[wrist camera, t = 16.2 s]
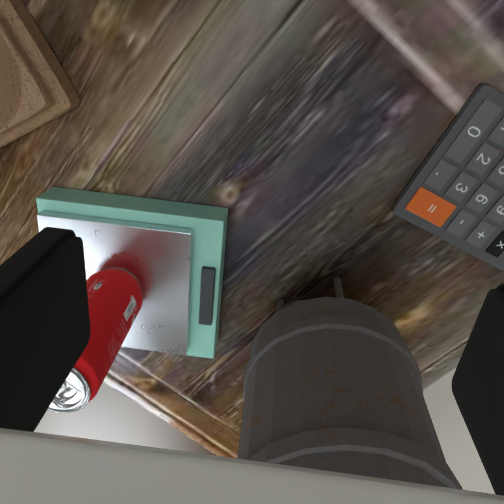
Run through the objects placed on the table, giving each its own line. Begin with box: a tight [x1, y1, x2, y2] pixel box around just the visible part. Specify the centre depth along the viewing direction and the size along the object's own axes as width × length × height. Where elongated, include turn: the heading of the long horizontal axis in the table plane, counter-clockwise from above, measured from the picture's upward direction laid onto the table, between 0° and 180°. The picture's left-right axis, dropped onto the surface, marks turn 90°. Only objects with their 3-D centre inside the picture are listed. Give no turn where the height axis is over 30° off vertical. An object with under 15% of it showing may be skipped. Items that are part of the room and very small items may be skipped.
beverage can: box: [47, 268, 142, 413], centre depth 35 cm, size 5×5×12 cm
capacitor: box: [238, 277, 463, 490], centre depth 31 cm, size 14×14×30 cm
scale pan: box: [37, 210, 194, 355], centre depth 41 cm, size 13×13×1 cm
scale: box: [36, 187, 228, 359], centre depth 42 cm, size 16×15×4 cm
